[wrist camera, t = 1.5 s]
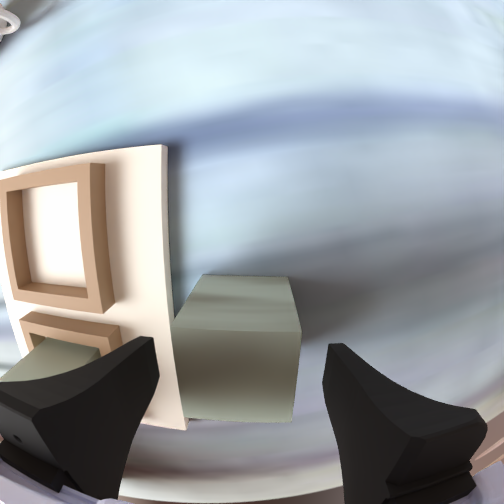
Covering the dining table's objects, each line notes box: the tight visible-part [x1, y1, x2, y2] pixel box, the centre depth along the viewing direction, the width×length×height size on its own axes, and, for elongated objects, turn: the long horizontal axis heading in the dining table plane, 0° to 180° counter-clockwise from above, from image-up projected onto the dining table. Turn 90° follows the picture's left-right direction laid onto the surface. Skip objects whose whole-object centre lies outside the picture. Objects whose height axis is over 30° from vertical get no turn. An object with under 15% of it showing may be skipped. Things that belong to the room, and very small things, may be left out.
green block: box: [170, 275, 302, 423], centre depth 13 cm, size 4×4×6 cm
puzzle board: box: [0, 144, 189, 430], centre depth 13 cm, size 18×14×7 cm
